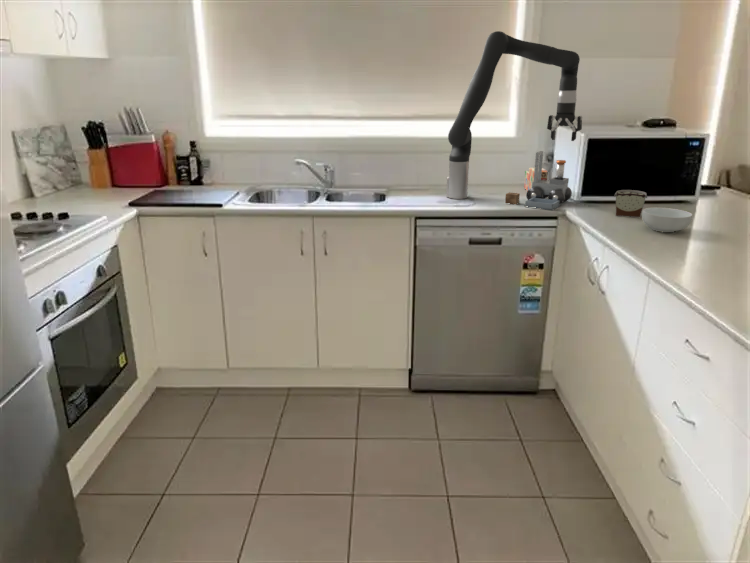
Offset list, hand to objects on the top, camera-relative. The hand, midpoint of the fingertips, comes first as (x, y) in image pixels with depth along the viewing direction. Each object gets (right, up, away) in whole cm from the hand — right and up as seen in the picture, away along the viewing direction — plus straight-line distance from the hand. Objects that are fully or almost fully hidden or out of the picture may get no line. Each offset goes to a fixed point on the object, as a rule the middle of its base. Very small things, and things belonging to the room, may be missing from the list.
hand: (563, 140), depth 253 cm
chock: (-20, -26, +10) cm, 34 cm away
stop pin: (0, -18, +6) cm, 19 cm away
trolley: (-3, -25, +11) cm, 28 cm away
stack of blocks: (-4, -18, +33) cm, 38 cm away
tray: (-8, -29, +2) cm, 30 cm away
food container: (+22, -35, -14) cm, 43 cm away
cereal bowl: (+26, -43, -37) cm, 62 cm away
